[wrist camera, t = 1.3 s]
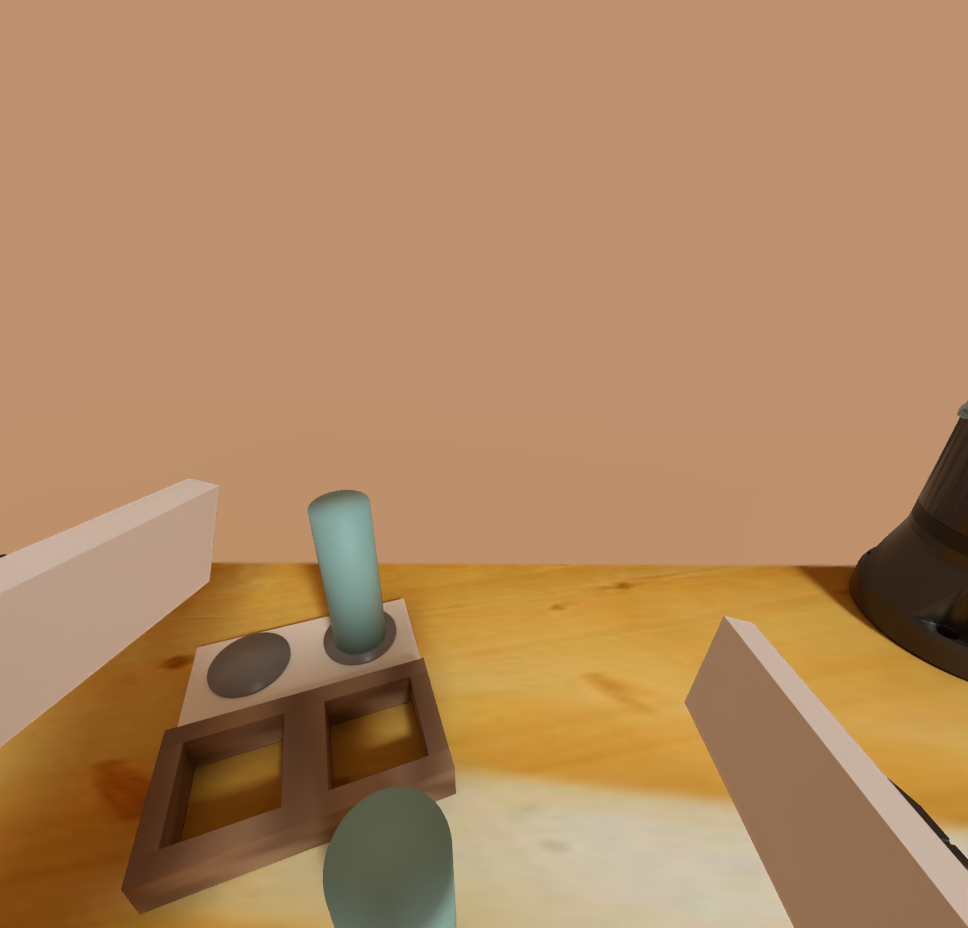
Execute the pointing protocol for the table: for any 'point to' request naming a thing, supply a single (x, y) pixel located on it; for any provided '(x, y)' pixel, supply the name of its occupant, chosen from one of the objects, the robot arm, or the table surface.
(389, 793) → the teal pin
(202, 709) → the pattern plate
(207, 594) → the table surface
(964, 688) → the table surface
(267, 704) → the brown wooden peg holder
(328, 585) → the pin
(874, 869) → the robot arm
